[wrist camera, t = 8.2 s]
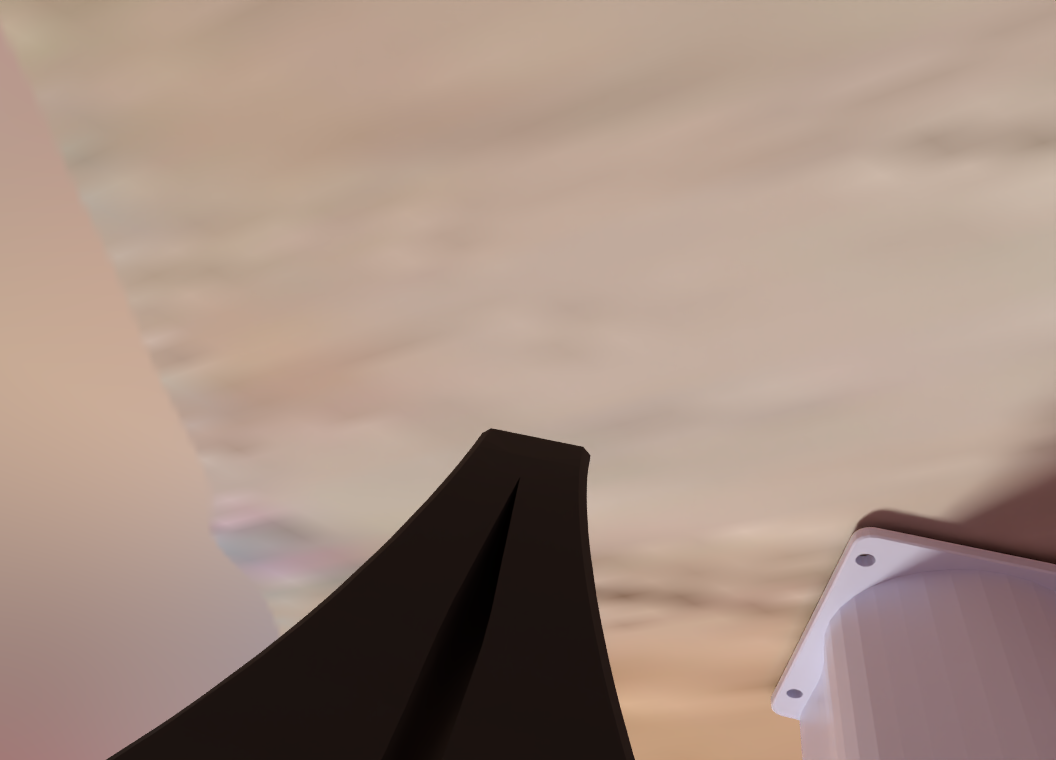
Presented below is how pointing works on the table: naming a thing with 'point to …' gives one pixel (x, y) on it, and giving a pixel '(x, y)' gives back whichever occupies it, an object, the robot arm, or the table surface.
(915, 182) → the table surface
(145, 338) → the table surface
